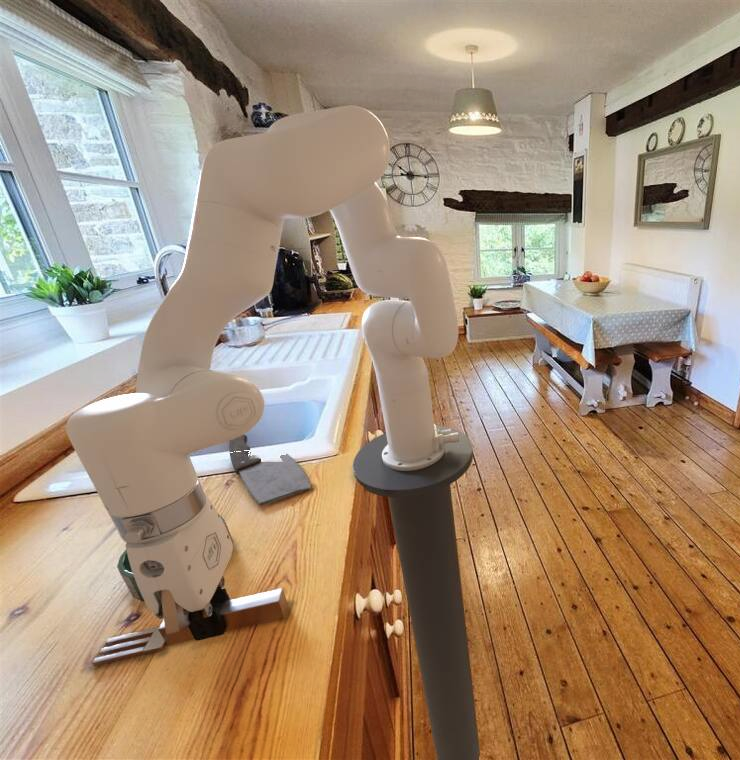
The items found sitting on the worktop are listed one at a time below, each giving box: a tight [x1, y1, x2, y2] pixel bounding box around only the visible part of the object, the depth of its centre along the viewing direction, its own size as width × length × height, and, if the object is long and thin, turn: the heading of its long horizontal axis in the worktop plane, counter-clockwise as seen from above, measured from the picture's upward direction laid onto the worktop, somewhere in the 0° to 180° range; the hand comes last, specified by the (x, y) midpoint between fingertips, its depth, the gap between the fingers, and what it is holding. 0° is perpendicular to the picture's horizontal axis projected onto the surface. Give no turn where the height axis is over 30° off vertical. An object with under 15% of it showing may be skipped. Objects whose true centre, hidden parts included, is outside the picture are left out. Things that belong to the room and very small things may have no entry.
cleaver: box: [228, 434, 312, 507], centre depth 83 cm, size 29×10×2 cm, turn 45°
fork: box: [91, 587, 289, 668], centre depth 50 cm, size 20×3×3 cm, turn 105°
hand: (215, 624), depth 51 cm, fingers closed on fork, 2 cm apart
